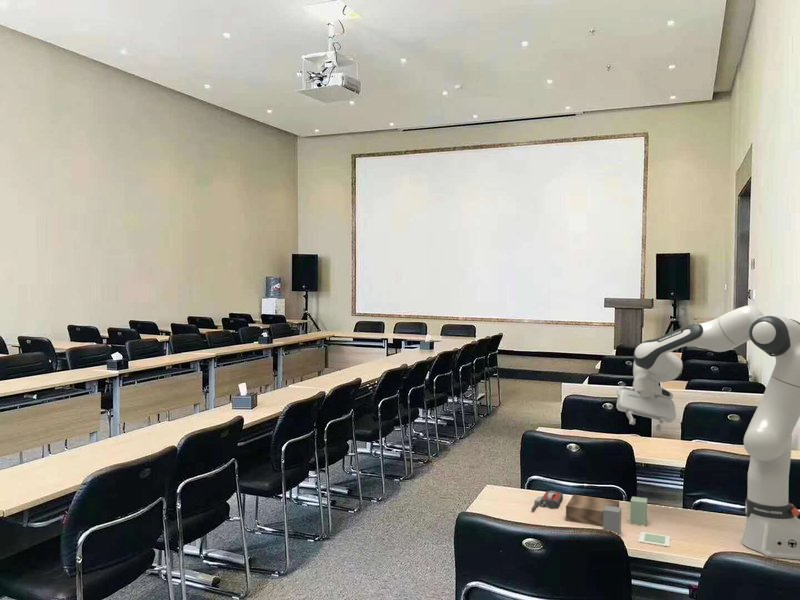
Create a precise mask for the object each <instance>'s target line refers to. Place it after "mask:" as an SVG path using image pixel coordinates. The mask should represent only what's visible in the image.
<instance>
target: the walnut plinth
mask: <svg viewBox="0 0 800 600" xmlns="http://www.w3.org/2000/svg"><path fill="white" fill-rule="evenodd" d="M605 506H613V507H620V500H615V499H610V498H608V499H607V498H600V497H596V496H595V497H593V496H588V495H579V494H573V495H572V496H571V498H570V500H568V502H567V503H566V505H565V521H568V522H574V523H580V524H587V525H593V526H600V527H603V510H604V508H605Z"/></svg>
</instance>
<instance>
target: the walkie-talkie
mask: <svg viewBox="0 0 800 600" xmlns="http://www.w3.org/2000/svg"><path fill="white" fill-rule="evenodd" d="M563 500H564V495H563V493H562V492H560V491H553V490H549V491H545V493H544V494H543V495H542V496H537V497H536V498H535V499H534V505H533V506H532V508H531V511H535V510H536V508H537V507H538V506H539V507H542V508H548V509H549V508H550V509H559V507H560V505H561V504H562V503H563Z"/></svg>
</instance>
